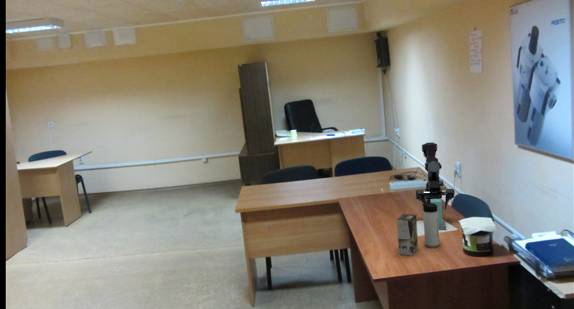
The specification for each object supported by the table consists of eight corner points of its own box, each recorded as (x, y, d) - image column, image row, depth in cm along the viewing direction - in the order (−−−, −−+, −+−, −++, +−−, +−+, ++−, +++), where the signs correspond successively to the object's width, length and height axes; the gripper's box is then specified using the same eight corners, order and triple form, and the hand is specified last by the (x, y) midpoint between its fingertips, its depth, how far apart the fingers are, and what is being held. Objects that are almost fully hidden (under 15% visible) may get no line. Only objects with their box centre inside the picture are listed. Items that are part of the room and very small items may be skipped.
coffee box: (412, 255, 203) (410, 220, 200) (398, 254, 207) (396, 219, 204) (418, 248, 211) (416, 214, 208) (404, 246, 214) (402, 213, 211)
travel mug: (422, 243, 215) (420, 202, 211) (436, 241, 215) (434, 200, 212) (427, 248, 209) (425, 206, 205) (441, 246, 209) (439, 204, 206)
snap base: (428, 224, 236) (428, 220, 235) (445, 224, 234) (444, 220, 233) (429, 230, 228) (428, 226, 228) (446, 230, 226) (446, 226, 226)
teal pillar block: (431, 221, 234) (430, 199, 231) (441, 221, 232) (440, 198, 230) (432, 225, 229) (430, 202, 227) (442, 225, 228) (441, 201, 225)
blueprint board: (439, 218, 245) (439, 217, 245) (458, 231, 225) (458, 229, 225) (397, 225, 242) (397, 223, 242) (413, 238, 222) (413, 236, 222)
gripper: (414, 174, 237) (416, 202, 229) (453, 173, 232) (456, 201, 224) (415, 185, 246) (416, 212, 237) (452, 184, 241) (455, 211, 233)
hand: (436, 208), depth 233 cm, fingers open, 9 cm apart
